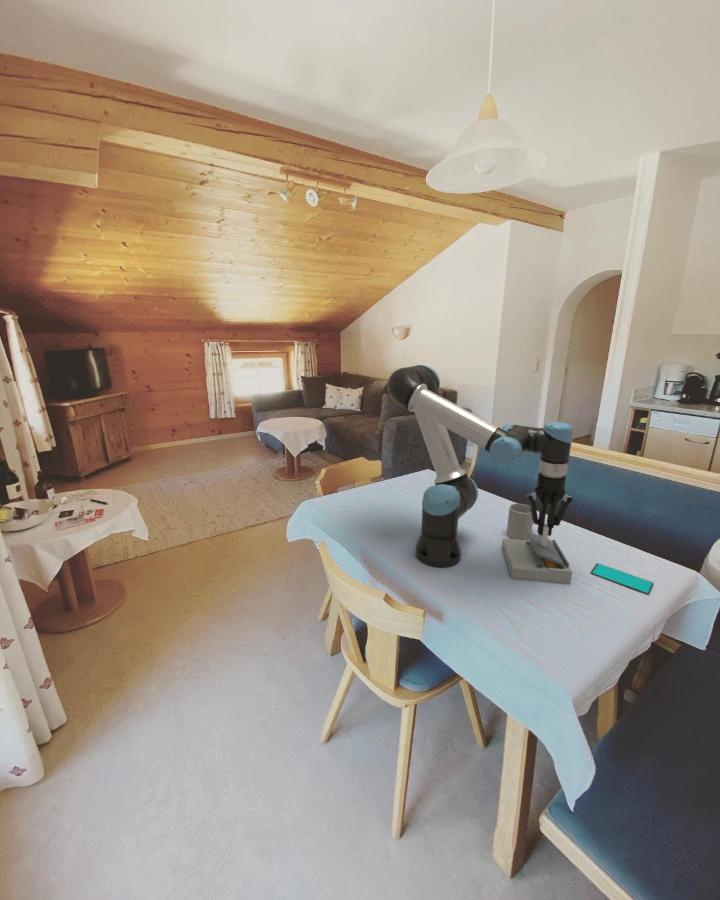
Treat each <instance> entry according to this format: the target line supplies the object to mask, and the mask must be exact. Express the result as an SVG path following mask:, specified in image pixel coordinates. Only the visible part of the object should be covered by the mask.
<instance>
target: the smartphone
mask: <svg viewBox="0 0 720 900" xmlns="http://www.w3.org/2000/svg"><path fill="white" fill-rule="evenodd" d="M590 575H592V576H594V577H598V578H601V579H603V580H606V581H607V582H608V581H609V582H611V583H613V584H617V585H619V586H621V587H625V588H627V589H630V590H632V591H634V592H638V593H641V594H644V595H646V596H649V595H650V592H651V590H652V588H653V586H654V582H653V581H650V580H647V579H644V578H641V577H638V576H636V575H633V574H630V573H627V572H624V571H623V570H622V571H621V570H619V569H616V568H613V567H610V566H607V565H604V564H601V563H596V564H595V565H594V567H593V568H592V569H591V571H590Z"/></svg>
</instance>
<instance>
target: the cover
mask: <svg viewBox="0 0 720 900" xmlns="http://www.w3.org/2000/svg"><path fill="white" fill-rule="evenodd" d="M526 533H527V535H528V537H529V541H531V544H532V546H533V548H534V550H535V552H536V554H537V556H540V557H542V558H545V559H547V560H550V561H552V562H555V563H557V564H560V565H562V566H563V564H564V563H565V565H566V566H569V567H570V563H569V561H568V560H567V558H566V556H565V554H564V553H563V552H562V549H561V548H560V546H559V545H558V543H557V541H556V539H549V538H547V545H546V546H541V544H540V542H539V539H540V535H539V534H538V533H534V532H533V531H532V532H529V531H527V532H526ZM551 541H552V542H553V544H554V545H553V544H552V542H551ZM554 546H555V547H556V549H557V551H558V552H557V551H556V549H555V547H554ZM558 553H559V554H560V556H561V558H562V559H561V558H560V556H559V554H558ZM562 560H563V561H564V563H563V561H562Z"/></svg>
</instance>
